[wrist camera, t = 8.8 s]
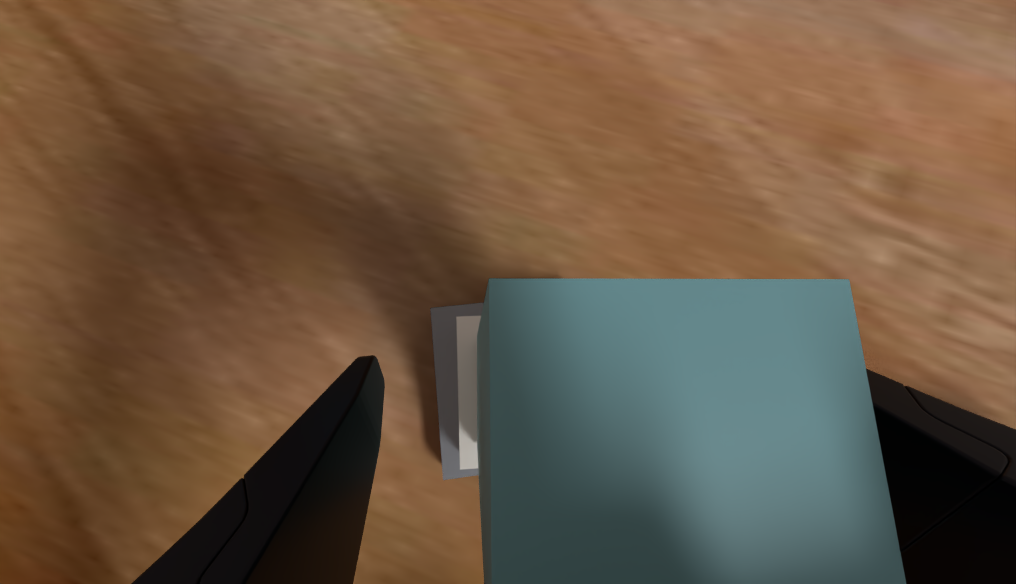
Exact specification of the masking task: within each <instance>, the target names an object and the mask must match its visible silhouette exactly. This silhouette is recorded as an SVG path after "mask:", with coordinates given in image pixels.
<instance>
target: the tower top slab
mask: <svg viewBox="0 0 1016 584" xmlns="http://www.w3.org/2000/svg"><path fill="white" fill-rule="evenodd" d="M480 319H481V316H460V317H456V320H457V363H458V406H459V450H460V470H462V469H476V468H478V452H477V333H478V328H479V323H480Z"/></svg>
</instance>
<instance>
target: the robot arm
mask: <svg viewBox="0 0 1016 584" xmlns="http://www.w3.org/2000/svg"><path fill="white" fill-rule="evenodd" d="M866 372H867V377H868V383H869V388H870V393H871V399H872V404H873V409H874V415H875V420H876V425H877V431H878V436H879V441H880V446H881V452H882V457H883V462H884V468H885V473H886V478H887V484H888V489H889V494H890V500H891V505H892V510H893V516H894V521H895V526H896V531H897V537H898V542H899V547H900V553H901V558H902V563H903V569H904V574H905V579H906V584H1016V429H1013V428H1010V427H1008V426H1005V425H1003V424H1000V423H997V422H995V421H992V420H990V419H987V418H984V417H982V416H979V415H977V414H974V413H972V412H969V411H966V410H964V409H961V408H959V407H956V406H954V405H952V404H949V403H947V402H944V401H942V400H939V399H937V398H935V397H932V396H930V395H927V394H925V393H923V392H920V391H918V390H916V389H913V388H911V387H909V386H904V385H903V384H901V383H899V382H896V381H894V380H892V379H889V378H887V377H885V376H882V375H880V374H878V373H875V372H873V371H870V370H868V369H866ZM384 388H385V384H384V377H383V374H382V371H381V369H380V366H379V363H378V360H377V358H376V357H375V356H373V355H371V356H362V357H358V358H357V359H356V360H355V361H354V362H353V363H352V364H351V365H350V366H349V367H348V368H347V369H346V370H345V371H344V372H343V373H342V374H341V375H340V376H339V377H338V378H337V379H336V380H335V381H334V382H333V383H332V384H331V385H330V386H329V388H328V389H327V390H326V391H325V392H324V393H323V394H322V395H321V396H320V397H319V398H318V399H317V400H316V401H315V402H314V403H313V404H312V405H311V406H310V407H309V408H308V409H307V410H306V411H305V412H304V413H303V415H302V416H301V417H300V418H299V419H298V420H297V421H296V422H295V423H294V424H293V425H292V426H291V427H290V428H289V429H288V430H287V431H286V432H285V433H284V434H283V435H282V436H281V437H280V438H279V439H278V440H277V441H276V443H275V444H274V445H273V446H272V447H271V448H270V449H269V450H268V451H267V452H266V453H265V454H264V455H263V456H262V457H261V458H260V459H259V460H258V461H257V462H256V463H255V464H254V465H253V466H252V467H251V468H250V469H249V471H248V472H247V473H246V474H245V475H244V478H241V479H240V480H239V481H238V482H237V483H236V484H235V485H234V486H233V487H232V488H231V489H230V490H229V491H228V492H227V493H226V494H225V495H224V496H223V497H222V498H221V499H220V500H219V501H218V502H217V503H216V504H215V505H214V506H213V507H212V508H211V509H210V510H209V511H208V512H207V513H206V514H205V515H204V516H203V517H202V518H201V519H200V520H199V521H198V522H197V523H196V524H195V525H194V526H193V527H192V528H191V529H190V530H189V531H188V532H187V533H186V534H185V535H183V536H182V537H181V538H180V539H179V540H178V541H177V542H176V543H175V544H174V545H173V546H172V547H171V548H170V549H169V550H168V551H166V552H165V553H164V554H163V555H162V556H161V557H160V558H159V559H158V560H157V561H156V562H154V563H153V564H152V565H151V566H150V567H149V568H148V569H147V570H146V571H145V572H144V573H142V574H141V575H140V576H139V577H138V578H137V579H136V580H135V581H134V582H133V583H132V584H353V581H354V576H355V571H356V565H357V560H358V555H359V550H360V545H361V540H362V535H363V530H364V525H365V520H366V514H367V509H368V504H369V499H370V494H371V489H372V484H373V479H374V474H375V469H376V463H377V458H378V453H379V447H380V439H381V427H382V414H383V401H384Z"/></svg>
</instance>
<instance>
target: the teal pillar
mask: <svg viewBox="0 0 1016 584" xmlns="http://www.w3.org/2000/svg"><path fill="white" fill-rule="evenodd" d="M477 452H478V472H479V491H480V511H481V530H482V550H483V569H484V584H906V579H905V574H904V569H903V563H902V558H901V553H900V547H899V542H898V537H897V531H896V526H895V521H894V516H893V510H892V505H891V500H890V494H889V489H888V484H887V478H886V473H885V468H884V462H883V457H882V452H881V446H880V441H879V436H878V431H877V425H876V420H875V415H874V409H873V404H872V399H871V393H870V388H869V383H868V377H867V372H866V367H865V361H864V356H863V351H862V346H861V340H860V335H859V330H858V324H857V319H856V314H855V308H854V303H853V298H852V292H851V287H850V282H849V279H498V278H489V281H488V285H487V290H486V295H485V300H484V304H483V309H482V314H481V319H480V323H479V328H478V333H477Z"/></svg>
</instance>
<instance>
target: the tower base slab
mask: <svg viewBox="0 0 1016 584" xmlns="http://www.w3.org/2000/svg"><path fill="white" fill-rule="evenodd" d="M483 304H484V303H474V304H465V305H455V306H445V307H436V308H430V309H431V323H432V336H433V349H434V363H435V376H436V390H437V403H438V417H439V430H440V444H441V457H442V470H443V480H447V479H454V478H461V477H468V476H475V475H479V472H478V468H476V469H462V470H460V450H459V406H458V363H457V320H456V317H460V316H481V314H482V309H483Z"/></svg>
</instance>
